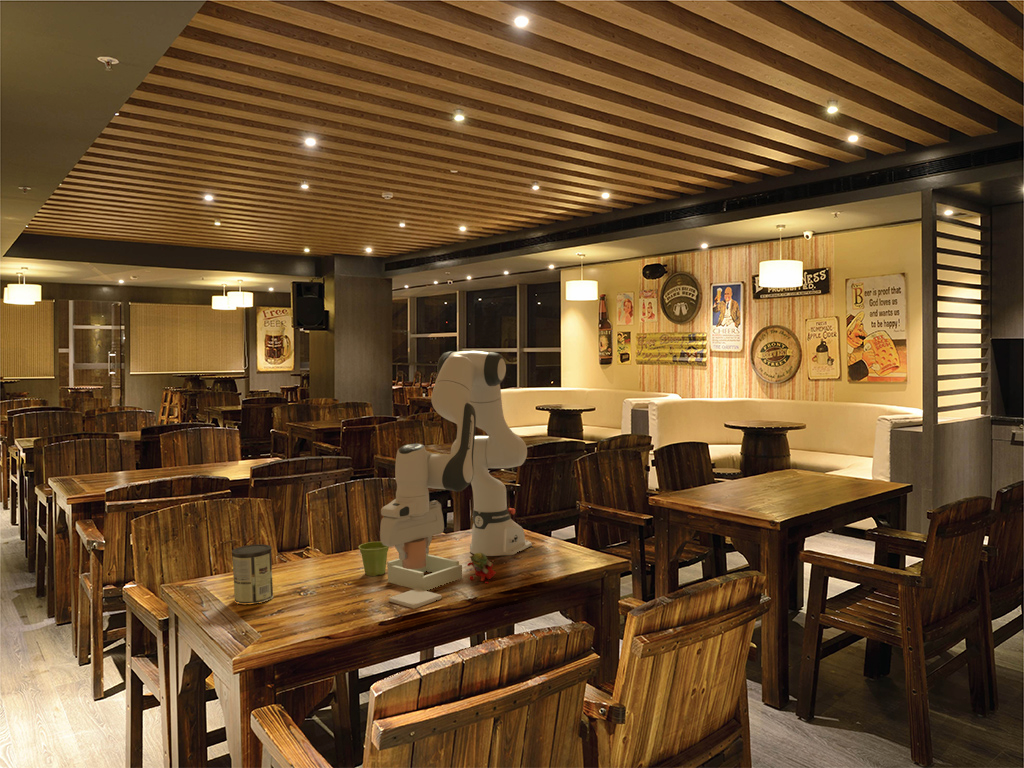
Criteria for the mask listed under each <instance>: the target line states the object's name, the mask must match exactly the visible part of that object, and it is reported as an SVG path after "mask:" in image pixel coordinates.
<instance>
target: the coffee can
mask: <svg viewBox="0 0 1024 768" xmlns="http://www.w3.org/2000/svg"><path fill="white" fill-rule="evenodd" d="M272 548H273V547H272V546H271V545H269V544H264V543H263V544H260V543H259V544H249V545H243V546H239V547H235V548H234V549H232V551H231V556H232V568H233V569H232V571H233V572H232V573H233V592H234V593H233V594H234V600H235V601H236V602H239V603H259V602H265V601H268V600H270V599H271V600H272V599H273V598H274V590H273V589H274V586H273V562H272V560H273V559H272V550H273V549H272ZM271 600H270V601H271ZM268 602H269V601H268ZM265 603H266V602H265Z"/></svg>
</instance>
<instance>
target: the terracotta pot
mask: <svg viewBox="0 0 1024 768" xmlns="http://www.w3.org/2000/svg"><path fill="white" fill-rule="evenodd" d="M403 550H404V552H406V553H407V559H405V560H402V567H403V568H406V569H419V568H423V567H425V566H426V539H425V538H422V539H418V540H415V541H411V542H407V543H404V547H403Z"/></svg>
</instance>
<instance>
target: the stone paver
mask: <svg viewBox="0 0 1024 768" xmlns="http://www.w3.org/2000/svg"><path fill="white" fill-rule="evenodd" d="M442 597H443V596H442V594H439V593H436V592H432V591H429V590H428V591H425V590H421V589H417V588H416V589H410V590H408V591H405V592H402V593H399V594H396V595H393V596H390V597H388V602H390V603H393V604H397V605H400V606H403V607H408V608H409V609H414V610H416V609H418V608H420V607H423V606H426V605H428V604H431V603H434V602H436V600H437V601H439V600H442V599H441V598H442Z"/></svg>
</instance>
